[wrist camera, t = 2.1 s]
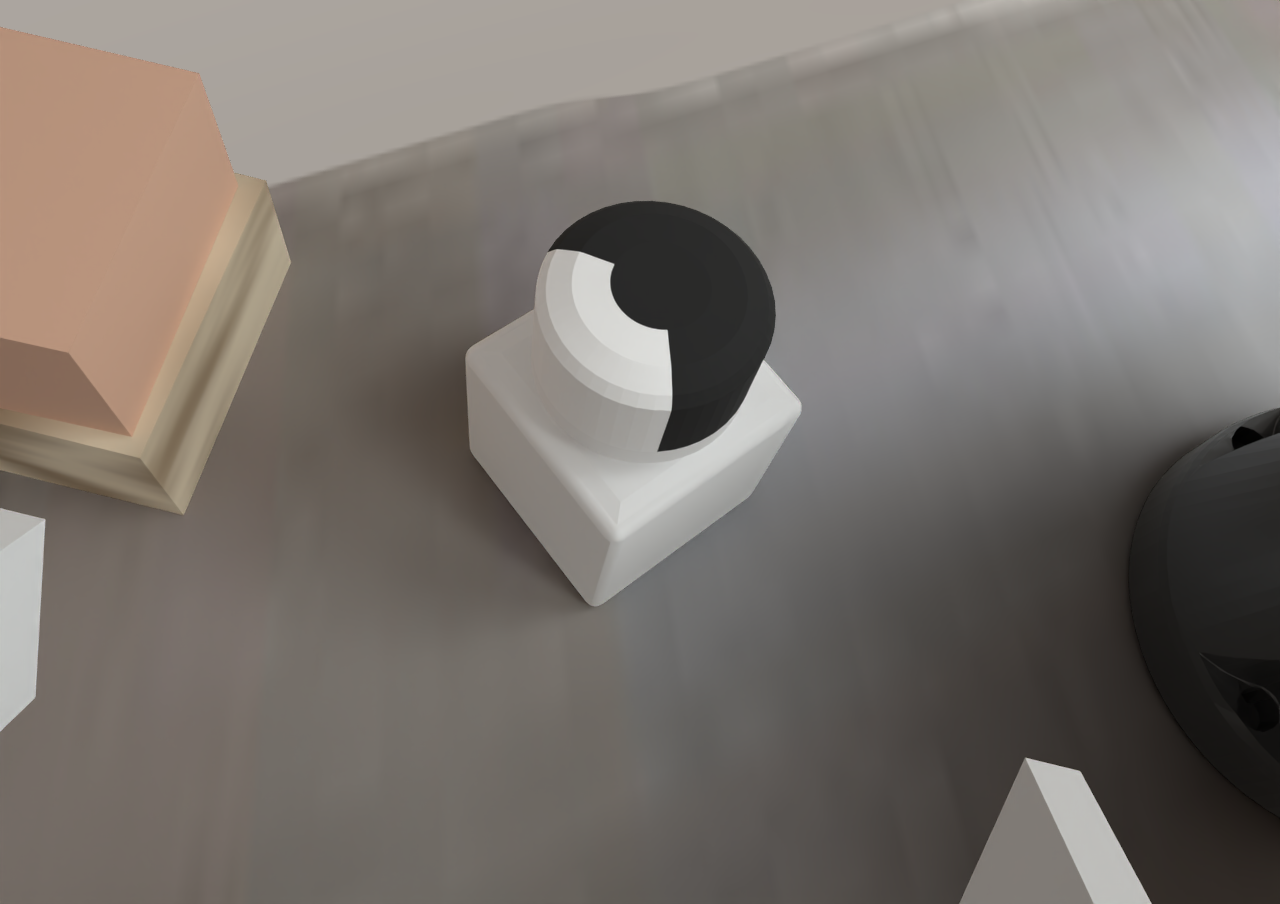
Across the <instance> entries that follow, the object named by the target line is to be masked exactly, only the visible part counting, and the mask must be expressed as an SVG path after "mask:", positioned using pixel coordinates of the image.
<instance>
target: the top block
mask: <svg viewBox="0 0 1280 904" xmlns="http://www.w3.org/2000/svg"><path fill="white" fill-rule="evenodd" d="M237 188H238V183H237V180H236V177H235V175H234V172H233V169H232V166H231V163H230V160H229V157H228V155H227V152H226V149H225V146H224V143H223V140H222V137H221V134H220V132H219V129H218V126H217V123H216V120H215V117H214V115H213V112H212V109H211V106H210V103H209V100H208V97H207V95H206V92H205V89H204V86H203V83H202V80H201V77H200V74H199V73H196V72H191V71H187V70H183V69H179V68H174V67H170V66H165V65H161V64H157V63H153V62H148V61H144V60H140V59H135V58H131V57H127V56H123V55H118V54H114V53H110V52H105V51H101V50H97V49H92V48H88V47H84V46H80V45H75V44H71V43H67V42H62V41H58V40H54V39H50V38H45V37H41V36H37V35H32V34H28V33H23V32H19V31H15V30H11V29H6V28H2V27H0V408H2V409H7V410H11V411H16V412H20V413H25V414H30V415H34V416H39V417H43V418H48V419H52V420H57V421H62V422H66V423H71V424H75V425H80V426H85V427H89V428H94V429H98V430H103V431H108V432H112V433H117V434H121V435H126V436H130V437H132V436H133V433H134V431H135V429H136V426H137V424H138V422H139V419H140V417H141V414H142V412H143V410H144V407H145V405H146V403H147V400H148V398H149V396H150V393H151V391H152V389H153V386H154V384H155V382H156V379H157V377H158V374H159V372H160V370H161V367H162V365H163V363H164V360H165V358H166V356H167V353H168V351H169V348H170V346H171V344H172V341H173V339H174V337H175V334H176V332H177V330H178V327H179V325H180V322H181V320H182V318H183V315H184V313H185V311H186V308H187V306H188V304H189V301H190V299H191V296H192V294H193V292H194V289H195V287H196V285H197V282H198V280H199V278H200V275H201V273H202V270H203V268H204V266H205V263H206V261H207V259H208V256H209V254H210V252H211V249H212V247H213V244H214V242H215V240H216V237H217V235H218V233H219V230H220V228H221V226H222V223H223V221H224V218H225V216H226V214H227V211H228V209H229V207H230V204H231V202H232V200H233V197H234V195H235V192H236V190H237Z"/></svg>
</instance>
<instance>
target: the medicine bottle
mask: <svg viewBox="0 0 1280 904" xmlns="http://www.w3.org/2000/svg"><path fill="white" fill-rule="evenodd" d="M775 317H776V314H775V300H774V296H773V291H772V287H771V284H770V282H769V279H768V277H767V274H766V272H765V270H764V268H763V266H762V265H761V263H760V261H759V259H758V258H757V257H756V255H755V254H754V253H753V251H752V250H751V249H750V248H749V246H748V245H747V244H746V243H745V242H744V241H743V240H742V239H741V238H740V237H739V236H738V235H736V234H735V233H734V232H733V231H731V230H730V229H729V228H728V227H726V226H725V225H723V224H722V223H720V222H718V221H717V220H715V219H714V218H712V217H709V216H707V215H705V214H703V213H701V212H699V211H696V210H693V209H690V208H687V207H684V206H680V205H676V204H671V203H665V202H656V201H634V202H627V203H620V204H616V205H612V206H608V207H605V208H602V209H600V210H597V211H595V212H592V213H590V214H588V215H587V216H585V217H583V218H581V219H580V220H578V221H577V222H575V223H574V224H573V225H571V226H570V227H569V228H568V229H566V230H565V231H564V232H563V233H562V234H561V235H560V236H559V238H558V239H557V240H556V241H555V242H554V244H553V245H552V247H551V248H550V249H549V251H548V252H547V254H546V256H545V259H544V261H543V263H542V265H541V268H540V271H539V275H538V278H537V285H536V293H535V307H534V309H533V310H531V311H530V312H528V313H526V314H525V315H523V316H521V317H520V318H518V319H516V320H515V321H513V322H511V323H510V324H508V325H506V326H505V327H503V328H501V329H500V330H498V331H496V332H495V333H493V334H491V335H490V336H488V337H486V338H485V339H483V340H481V341H479V342H478V343H476V344H474V345H473V346H471V347H470V348H469V349H468V351H467V352H466V357H465V364H466V384H467V404H468V423H469V443H470V450H471V453H472V454H473V456H474V457H475V458H476V459H477V461H478V462H479V463H480V465H481V466H482V467H483V469H484V470H485V471H486V472H487V474H488V475H489V476H490V478H491V479H492V480H493V482H494V483H495V484H496V485H497V487H498V488H499V489H500V491H501V492H502V493H503V495H504V496H505V497H506V498H507V500H508V501H509V502H510V504H511V505H512V506H513V508H514V509H515V510H516V511H517V513H518V514H519V515H520V517H521V518H522V519H523V521H524V522H525V523H526V524H527V526H528V527H529V528H530V530H531V531H532V532H533V534H534V535H535V536H536V537H537V539H538V540H539V541H540V543H541V544H542V545H543V547H544V548H545V549H546V550H547V552H548V553H549V554H550V556H551V557H552V558H553V560H554V561H555V562H556V564H557V565H558V566H559V567H560V569H561V570H562V571H563V573H564V574H565V575H566V577H567V578H568V579H569V580H570V582H571V583H572V584H573V586H574V587H575V588H576V590H577V591H578V592H579V593H580V595H581V596H582V597H583V599H584V600H585V601H586V602H587V603H588V604H589V605H591V606H599V605H602V604H603V603H605V602H606V601H607V600H609V599H610V598H612V597H613V596H614V595H616V594H617V593H618V592H620V591H621V590H622V589H624V588H625V587H627V586H628V585H629V584H631V583H632V582H633V581H635V580H636V579H638V578H639V577H640V576H642V575H643V574H644V573H646V572H647V571H648V570H650V569H651V568H653V567H654V566H655V565H657V564H658V563H659V562H661V561H662V560H664V559H665V558H666V557H668V556H669V555H670V554H672V553H673V552H674V551H676V550H677V549H679V548H680V547H681V546H683V545H684V544H685V543H687V542H688V541H690V540H691V539H692V538H694V537H695V536H696V535H698V534H699V533H700V532H702V531H703V530H705V529H706V528H707V527H709V526H710V525H711V524H713V523H714V522H716V521H717V520H718V519H720V518H721V517H722V516H724V515H725V514H726V513H728V512H729V511H731V510H732V509H733V508H735V507H736V506H737V505H739V504H740V503H742V502H743V501H744V500H746V499H747V498H748V497H750V495H751V494H752V493H753V491H754V489H755V488H756V486H757V485H758V483H759V481H760V480H761V478H762V476H763V475H764V473H765V471H766V470H767V468H768V467H769V465H770V463H771V462H772V460H773V458H774V457H775V455H776V453H777V452H778V450H779V449H780V447H781V445H782V444H783V442H784V440H785V439H786V437H787V435H788V434H789V432H790V430H791V429H792V427H793V426H794V424H795V422H796V421H797V419H798V417H799V416H800V414H801V407H802V404H801V402H800V400H799V399H798V398H797V397H796V396H795V394H794V393H793V392H792V391H791V390H790V389H789V388H788V386H787V385H786V384H785V383H784V382H783V381H782V380H781V379H780V377H779V376H778V375H777V374H776V373H775V372H774V371H773V369H772V368H771V367H770V366H769V365H768V364H767V363H766V362H765V360H764V358H765V355H766V353H767V351H768V349H769V346H770V344H771V341H772V337H773V333H774V328H775Z"/></svg>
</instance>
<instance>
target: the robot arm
mask: <svg viewBox="0 0 1280 904" xmlns="http://www.w3.org/2000/svg"><path fill="white" fill-rule="evenodd" d="M44 535H45V519H42V518H38V517H34V516H30V515H26V514H22V513H18V512H14V511H10V510H5V509H1V508H0V731H1V730H2V729H3V728H4V727H5V726H6V725H7V724H8V723H10V722H11V721H12V720H13V719H14V718H15V717H16V716H17V715H18V714H19V713H20V712H21V711H22V710H23V709H24V708H25V707H26V706H27V705H28V704H29V703H30V702H31V701H32V700H33V699H34V698H35V696H36V678H37V660H38V642H39V624H40V607H41V589H42V571H43V553H44ZM1129 589H1130V601H1131V608H1132V614H1133V620H1134V624H1135V628H1136V632H1137V636H1138V640H1139V643H1140V646H1141V649H1142V652H1143V655H1144V658H1145V660H1146V663H1147V666H1148V668H1149V670H1150V673H1151V675H1152V677H1153V679H1154V682H1155V684H1156V686H1157V688H1158V690H1159V691H1160V693H1161V695H1162V697H1163V699H1164V701H1165V702H1166V704H1167V706H1168V707H1169V709H1170V711H1171V712H1172V714H1173V716H1174V717H1175V719H1176V720H1177V722H1178V723H1179V724H1180V726H1181V727H1182V729H1183V730H1184V732H1185V733H1186V734H1187V735H1188V737H1189V738H1190V739H1191V741H1192V742H1193V743H1194V744H1195V746H1196V747H1197V748H1198V749H1199V750H1200V751H1201V753H1202V754H1203V755H1204V756H1205V757H1206V758H1207V759H1208V761H1209V762H1210V763H1211V764H1212V765H1213V766H1214V767H1215V768H1216V769H1217V770H1218V771H1219V772H1220V773H1221V774H1222V775H1223V776H1225V777H1226V778H1227V779H1228V780H1229V781H1230V782H1231V783H1232V784H1233V785H1235V786H1236V787H1237V788H1238V789H1239V790H1241V791H1242V792H1243V793H1244V794H1246V795H1247V796H1248V797H1249V798H1251V799H1252V800H1254V801H1255V802H1257V803H1258V804H1259V805H1261V806H1262V807H1264V808H1265V809H1267V810H1268V811H1270V812H1271V813H1273V814H1275V815H1276V816H1278V817H1280V408H1277V409H1273V410H1269V411H1265V412H1262V413H1259V414H1256V415H1253V416H1251V417H1248V418H1246V419H1244V420H1241V421H1239V422H1237V423H1235V424H1233V425H1231V426H1229V427H1227V428H1225V429H1224V430H1222V431H1221V432H1219V433H1218V434H1216V435H1215V436H1213V437H1212V438H1210V439H1209V440H1207V441H1206V442H1204V443H1203V444H1201V445H1199V446H1198V447H1196V448H1195V449H1193V450H1192V451H1191V452H1189V453H1188V454H1186V455H1185V456H1183V457H1182V458H1181V459H1180V460H1178V461H1177V462H1176V463H1175V464H1174V465H1173V466H1172V467H1171V468H1170V469H1169V470H1168V471H1167V472H1166V473H1165V474H1164V475H1163V476H1162V478H1161V479H1160V480H1159V481H1158V483H1157V484H1156V486H1155V487H1154V489H1153V490H1152V492H1151V493H1150V495H1149V497H1148V499H1147V501H1146V502H1145V504H1144V507H1143V509H1142V511H1141V514H1140V516H1139V519H1138V522H1137V525H1136V528H1135V532H1134V537H1133V541H1132V547H1131V554H1130V565H1129ZM959 904H1152V903H1151V902H1150V900H1149V898H1148V896H1147V894H1146V892H1145V890H1144V889H1143V887H1142V885H1141V883H1140V881H1139V879H1138V877H1137V876H1136V874H1135V872H1134V870H1133V868H1132V866H1131V864H1130V863H1129V861H1128V859H1127V857H1126V855H1125V853H1124V851H1123V850H1122V848H1121V846H1120V844H1119V842H1118V840H1117V838H1116V837H1115V835H1114V833H1113V831H1112V829H1111V827H1110V825H1109V824H1108V822H1107V820H1106V818H1105V816H1104V814H1103V812H1102V811H1101V809H1100V807H1099V805H1098V803H1097V801H1096V799H1095V798H1094V796H1093V794H1092V792H1091V790H1090V788H1089V786H1088V785H1087V783H1086V781H1085V779H1084V777H1083V775H1082V773H1081V772H1080V771H1078V770H1074V769H1070V768H1066V767H1062V766H1058V765H1053V764H1049V763H1045V762H1041V761H1037V760H1033V759H1029V758H1025V759H1024V761H1023V763H1022V766H1021V768H1020V770H1019V772H1018V775H1017V777H1016V779H1015V781H1014V783H1013V786H1012V788H1011V790H1010V792H1009V794H1008V797H1007V799H1006V801H1005V803H1004V806H1003V808H1002V810H1001V812H1000V814H999V817H998V819H997V821H996V823H995V825H994V828H993V830H992V832H991V834H990V837H989V839H988V841H987V843H986V845H985V848H984V850H983V852H982V854H981V856H980V859H979V861H978V863H977V865H976V868H975V870H974V872H973V874H972V876H971V879H970V881H969V883H968V885H967V888H966V890H965V892H964V894H963V896H962V899H961V901H960V903H959Z"/></svg>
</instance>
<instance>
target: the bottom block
mask: <svg viewBox="0 0 1280 904" xmlns="http://www.w3.org/2000/svg"><path fill="white" fill-rule="evenodd" d="M234 175H235V177H236V180H237V183H238V188H237V190H236V192H235V195H234V197H233V200H232V202H231V204H230V207H229V209H228V211H227V214H226V216H225V218H224V221H223V223H222V226H221V228H220V230H219V233H218V235H217V237H216V240H215V242H214V244H213V247H212V249H211V252H210V254H209V256H208V259H207V261H206V263H205V266H204V268H203V270H202V273H201V275H200V278H199V280H198V282H197V285H196V287H195V289H194V292H193V294H192V296H191V299H190V301H189V304H188V306H187V308H186V311H185V313H184V315H183V318H182V320H181V322H180V325H179V327H178V330H177V332H176V334H175V337H174V339H173V341H172V344H171V346H170V348H169V351H168V353H167V356H166V358H165V360H164V363H163V365H162V367H161V370H160V372H159V374H158V377H157V379H156V382H155V384H154V386H153V389H152V391H151V393H150V396H149V398H148V400H147V403H146V405H145V407H144V410H143V412H142V414H141V417H140V419H139V422H138V424H137V426H136V429H135V431H134V433H133V436H132V437H130V436H126V435H121V434H117V433H112V432H108V431H103V430H98V429H94V428H89V427H85V426H80V425H75V424H71V423H66V422H62V421H57V420H52V419H48V418H43V417H39V416H34V415H30V414H25V413H20V412H16V411H11V410H7V409H2V408H0V470H2V471H6V472H10V473H14V474H18V475H22V476H26V477H30V478H34V479H38V480H42V481H46V482H50V483H54V484H59V485H63V486H67V487H71V488H75V489H79V490H83V491H87V492H91V493H95V494H99V495H103V496H107V497H111V498H115V499H120V500H124V501H128V502H132V503H136V504H140V505H144V506H148V507H152V508H156V509H160V510H164V511H168V512H172V513H176V514H181V515H184V514H185V511H186V509H187V507H188V504H189V502H190V500H191V497H192V495H193V492H194V490H195V488H196V485H197V483H198V481H199V478H200V476H201V474H202V471H203V469H204V467H205V464H206V462H207V459H208V457H209V455H210V452H211V450H212V448H213V445H214V443H215V441H216V438H217V436H218V434H219V431H220V429H221V426H222V424H223V422H224V419H225V417H226V415H227V412H228V410H229V408H230V405H231V403H232V400H233V398H234V396H235V393H236V391H237V389H238V386H239V384H240V382H241V379H242V377H243V375H244V372H245V370H246V367H247V365H248V363H249V360H250V358H251V356H252V353H253V351H254V349H255V346H256V344H257V342H258V339H259V337H260V334H261V332H262V330H263V327H264V325H265V323H266V320H267V318H268V316H269V313H270V311H271V309H272V306H273V304H274V301H275V299H276V297H277V294H278V292H279V290H280V287H281V285H282V283H283V280H284V278H285V275H286V273H287V271H288V268H289V266H290V264H291V261H290V257H289V254H288V251H287V248H286V244H285V241H284V238H283V235H282V231H281V228H280V225H279V221H278V218H277V215H276V212H275V208H274V205H273V202H272V199H271V195H270V192H269V189H268V186H267V183H266V181H265V180H261V179H257V178H253V177H249V176H245V175H241V174H237V173H234Z"/></svg>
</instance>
